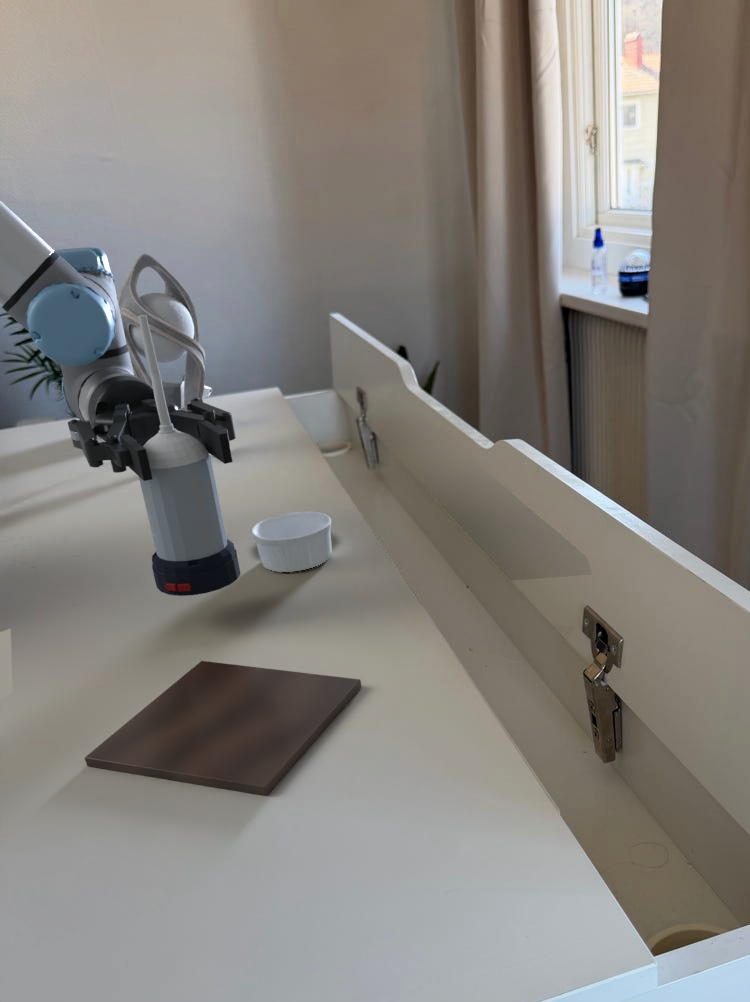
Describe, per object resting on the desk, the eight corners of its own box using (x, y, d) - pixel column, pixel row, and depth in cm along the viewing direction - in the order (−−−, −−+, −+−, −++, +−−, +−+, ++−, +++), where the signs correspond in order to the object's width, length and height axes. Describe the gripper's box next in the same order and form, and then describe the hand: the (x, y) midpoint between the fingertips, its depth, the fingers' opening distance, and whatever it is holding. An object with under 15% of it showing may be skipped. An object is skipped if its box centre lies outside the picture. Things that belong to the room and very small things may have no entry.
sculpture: (231, 447, 156) (194, 246, 143) (216, 468, 146) (175, 254, 133) (159, 452, 156) (115, 252, 143) (139, 473, 146) (89, 261, 133)
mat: (86, 766, 76) (84, 757, 75) (203, 668, 89) (201, 660, 88) (266, 796, 70) (265, 786, 70) (361, 687, 84) (360, 679, 83)
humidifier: (163, 603, 92) (98, 327, 80) (151, 573, 98) (89, 315, 87) (249, 583, 94) (198, 314, 83) (231, 556, 101) (182, 304, 90)
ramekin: (255, 580, 106) (248, 543, 104) (259, 550, 114) (252, 515, 112) (337, 570, 107) (331, 533, 105) (335, 541, 115) (330, 506, 113)
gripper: (219, 428, 110) (295, 474, 92) (37, 463, 101) (83, 522, 84) (206, 360, 107) (283, 394, 89) (17, 391, 98) (60, 436, 80)
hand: (186, 456), depth 86 cm, fingers closed on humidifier, 7 cm apart
